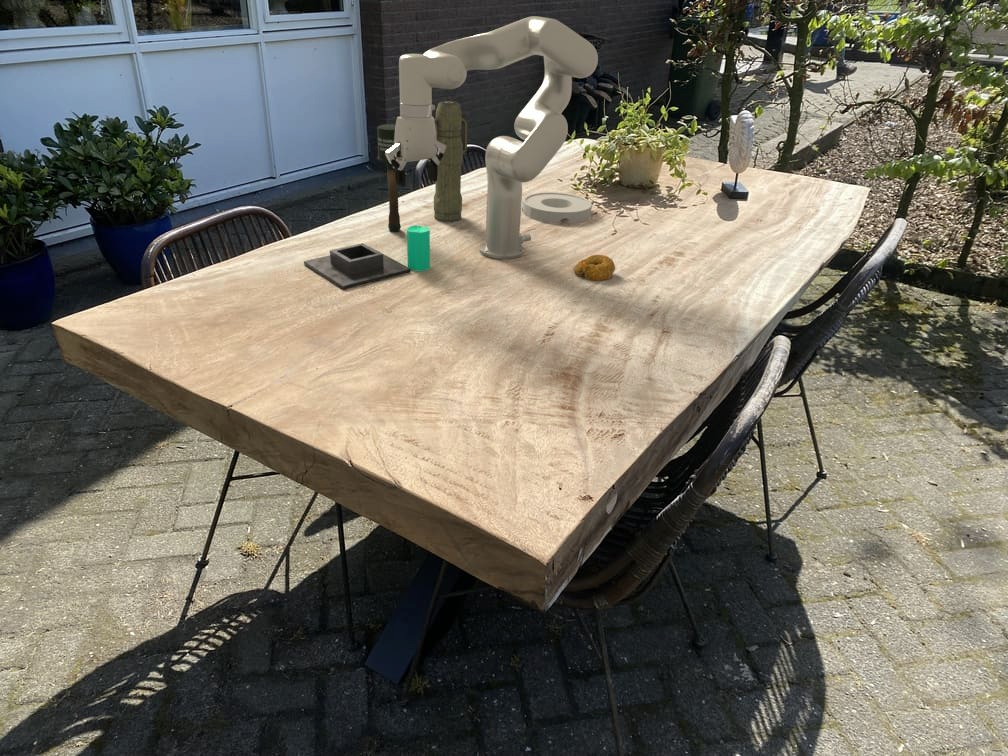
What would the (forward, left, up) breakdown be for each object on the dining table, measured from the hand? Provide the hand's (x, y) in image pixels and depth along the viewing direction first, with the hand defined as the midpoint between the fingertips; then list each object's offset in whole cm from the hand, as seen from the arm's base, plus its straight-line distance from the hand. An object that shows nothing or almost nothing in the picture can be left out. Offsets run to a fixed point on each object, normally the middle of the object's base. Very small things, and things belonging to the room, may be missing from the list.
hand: (416, 182), depth 177 cm
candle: (0, 0, -23) cm, 23 cm away
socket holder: (+14, -8, -22) cm, 27 cm away
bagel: (-36, +31, -23) cm, 52 cm away
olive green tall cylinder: (-32, -29, -23) cm, 49 cm away
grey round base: (-66, -14, -23) cm, 71 cm away
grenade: (-11, -28, -23) cm, 37 cm away
